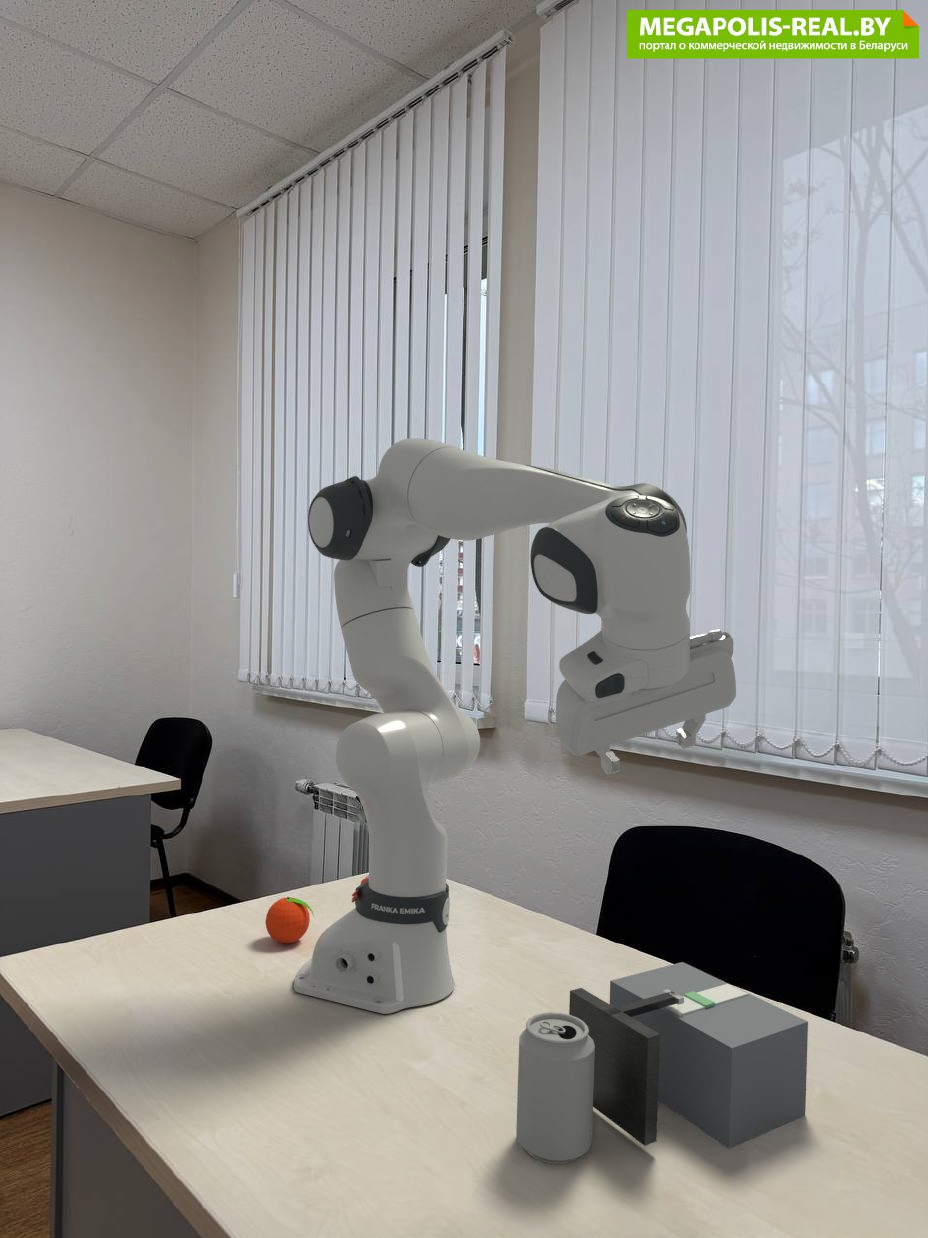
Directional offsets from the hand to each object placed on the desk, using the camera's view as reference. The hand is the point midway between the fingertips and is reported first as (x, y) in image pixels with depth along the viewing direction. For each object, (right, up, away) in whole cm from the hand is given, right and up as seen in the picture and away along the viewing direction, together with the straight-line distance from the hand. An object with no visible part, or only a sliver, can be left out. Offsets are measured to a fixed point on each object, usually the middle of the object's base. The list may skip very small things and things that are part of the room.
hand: (648, 757), depth 94 cm
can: (-12, -37, -10) cm, 40 cm away
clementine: (-48, -36, +40) cm, 73 cm away
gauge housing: (+6, -38, +1) cm, 38 cm away
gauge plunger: (-2, -36, -4) cm, 36 cm away
